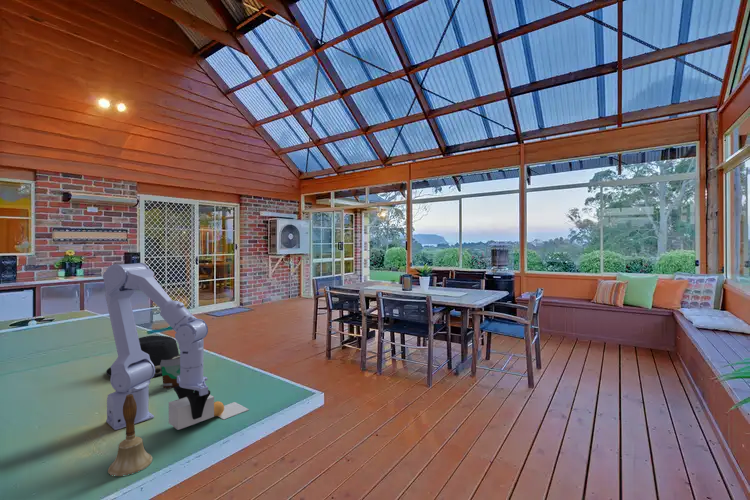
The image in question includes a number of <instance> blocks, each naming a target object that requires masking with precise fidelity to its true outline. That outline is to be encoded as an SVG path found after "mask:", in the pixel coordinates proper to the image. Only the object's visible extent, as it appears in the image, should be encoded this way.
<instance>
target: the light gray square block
mask: <svg viewBox="0 0 750 500" xmlns="http://www.w3.org/2000/svg"><path fill="white" fill-rule="evenodd" d="M249 410H250V409H249V408H247V407H245V406H244V405H241V404H239V403H238V402H235V401H233V402H230V403H228V404H225V405H224V411H223V413H222V414H221V415H219V416H217V417H219V418H220V419H221V420H223V421H224V420H226V419H229V418H232V417H235V416H237V415H239V414H242V413H245V412H248V411H249Z"/></svg>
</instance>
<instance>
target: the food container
mask: <svg viewBox="0 0 750 500" xmlns="http://www.w3.org/2000/svg"><path fill="white" fill-rule="evenodd" d="M160 366H162V378H161V379H162V387H163V388H164V389H172V388H173V389H174V387H176V386H179V383H177V376H178V375H180V355H179V356H174V357H172V358H171V359H169V360H161V363H160Z"/></svg>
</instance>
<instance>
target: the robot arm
mask: <svg viewBox="0 0 750 500" xmlns="http://www.w3.org/2000/svg"><path fill="white" fill-rule="evenodd" d="M102 278H103V283H104V288H105V295H104V296H105V300H106V301H105V302H106V304H107V311H108V314H109V320H110V325H111V328H112V335H113V337H114V343H115V348H116V353H117V358H116V359H115V360H114V362H113V363H112V365H110V367H111V377H110V385H111V387H112V389H113V390H114V392H110V393H109V394H107V399H106V420H105V422H106V423H107V424H108V425H109V426H110V427H111V428H112V429H113V431H119V430H120V429H123V428H126V422H125V419H124V416H123V405H124V402H125V399H126V395H128V394H133V397H134V399H135V401H136V405H137V412H136V417H135V421H134V425H136V424H138V423H142V422H144V421H148V420H151V419H154V418H155V415H154V414H153V413H151V412H150V411H149V396H150V393H149V391H150V390H149V387H150V386H149V384H151V380H152V379H153V378H154V377H155V376H154V374H155V367H154V364H153V363H152V362H151V360H150V356H149V354H147V353H145V352H143V351H141V347H140V343H139V338H140V337H139V334H138V330H137V324H136V320H135V315H134V311H133V305H132V301H131V296H132V295H133V294H134V293H135V292H136V291H137V290H139V291H141V292H142V293H143V294H144V295H145V296H146V297H148V299H150V301H152V302H153V303H154V304H155V305H156V306H157V307H158V308H159V309H160V310H159V314H160V317H161V318H162V319H164V321H165V322H166V323H167V324H168V326H170V327H171V328H172V329H173V331H174V332H175V333H174V339H175V340H176V343H178V350H179V354H180V375H178V376H177V383H179V386H176V387H174V388H173V390H174V392H175V393H176V395H177V399H181V398H184V397H187V398H188V400H189V402H190V406H191V413H192V418H193V419H194V420H195V419H197V418H200V417H202V413H203V409H204V406H205V403H206V400H207V398H208V397H209V395H211V390H210V389H209V386H208V385H207V384H206V382H207V381H208V377H207V376H204V348H205V347H204V341H205V338H206V337H207V336H208V333H209V328H208V327H209V326H208V324H207V323H206V321H205V320H203V319H201V318H197V317H196V316H194V315H193V314H192V313H191V311H189V310H188V309H187V308H186V307H185V304H184V303H183V301H179V300H172V298H171V297H170V296H169V294H168V293H167V292H166V291H165V290H164V288H163V286H162V285H161V284H160V283H159V282H158V281H157V279H156V278H155V277H154V271H153V270H152V269H150V267H149V265H147V264H146V263H144V262H138V263H122V264H118V263H113V264H111V265H109V266H108V268H107V269H106V270H105V271H104V273H103V274H102ZM132 363H134V364H132ZM130 364H131V365H130ZM153 376H154V377H153Z"/></svg>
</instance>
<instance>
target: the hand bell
mask: <svg viewBox="0 0 750 500" xmlns="http://www.w3.org/2000/svg"><path fill="white" fill-rule="evenodd" d="M136 412H137V405H136V401H135V399H134V397H133V394H128V395H126V399H125V402H124V405H123V416H124V419H125V422H126V427H125V439H123V440H121V442H119V444H118V449H117V454H116V457H115V459H114V461H113V462H112V463H111V464H110V465H109V467H108V470H107V474H108V473H109V474H110V476H111V475H113V476H112V477H114V475H115V476H123V475H128V474H132V473H135V472H137V473H139V472H138V471H140V470H142V471H143V470H145V469H146V468H148V467H149V466H150V465H151V464H152V462H153V456H152V454H151V453H149V452H147V451H146V450H145V447H144V442H143V438H142V437H140V436H136V430H135V427H136V426H135V424H134V421H135V417H136ZM140 472H141V471H140ZM109 474H108V475H109ZM135 474H136V473H135ZM132 475H133V474H132Z"/></svg>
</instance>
